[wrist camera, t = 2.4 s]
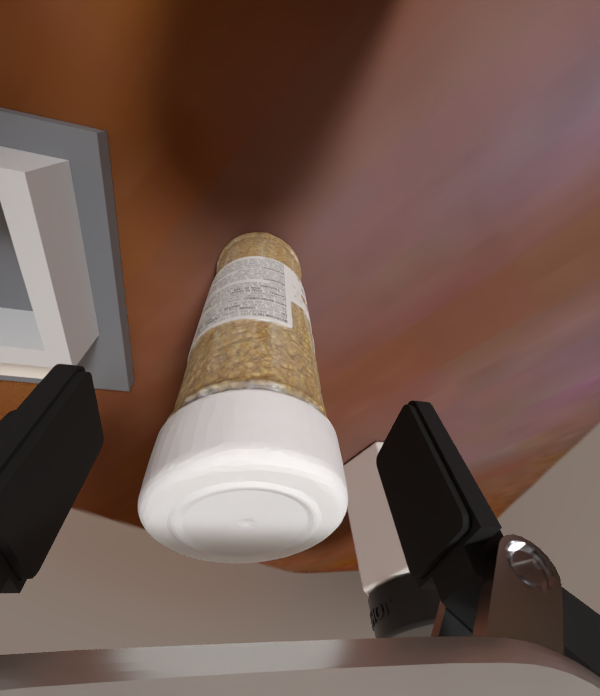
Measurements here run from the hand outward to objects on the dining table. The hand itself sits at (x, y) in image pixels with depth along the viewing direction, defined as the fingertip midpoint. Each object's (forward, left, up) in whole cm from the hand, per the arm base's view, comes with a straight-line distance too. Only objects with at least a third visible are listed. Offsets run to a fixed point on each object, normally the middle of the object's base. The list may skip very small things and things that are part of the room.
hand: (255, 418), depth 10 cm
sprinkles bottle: (-1, 0, -10) cm, 10 cm away
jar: (+16, +14, -10) cm, 24 cm away
